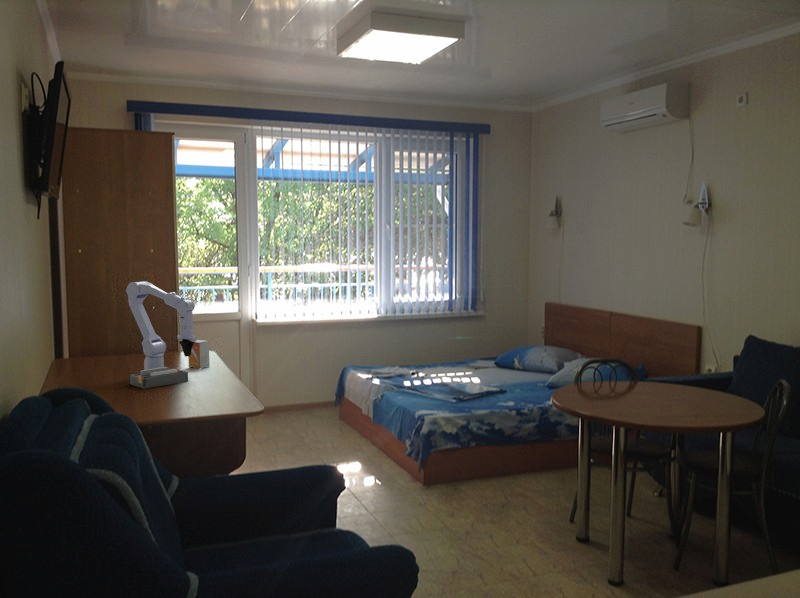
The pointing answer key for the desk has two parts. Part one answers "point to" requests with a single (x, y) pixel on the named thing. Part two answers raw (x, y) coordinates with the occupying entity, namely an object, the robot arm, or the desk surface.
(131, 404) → the desk surface
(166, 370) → the panel
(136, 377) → the rack
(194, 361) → the small box
